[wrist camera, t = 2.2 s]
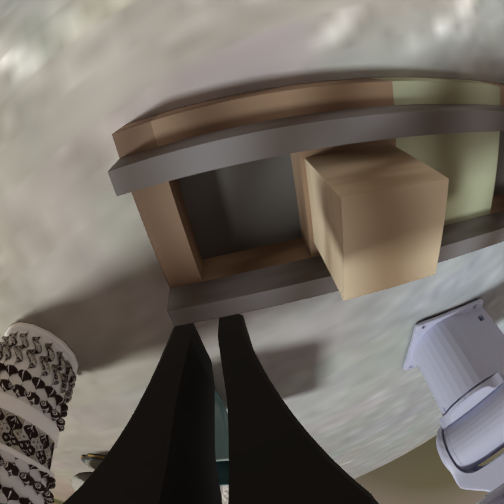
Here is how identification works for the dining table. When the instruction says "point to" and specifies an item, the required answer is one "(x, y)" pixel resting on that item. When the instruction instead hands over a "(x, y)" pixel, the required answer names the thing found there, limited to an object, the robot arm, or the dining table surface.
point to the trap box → (297, 180)
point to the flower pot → (221, 441)
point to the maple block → (376, 217)
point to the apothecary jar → (80, 478)
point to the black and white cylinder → (32, 410)
